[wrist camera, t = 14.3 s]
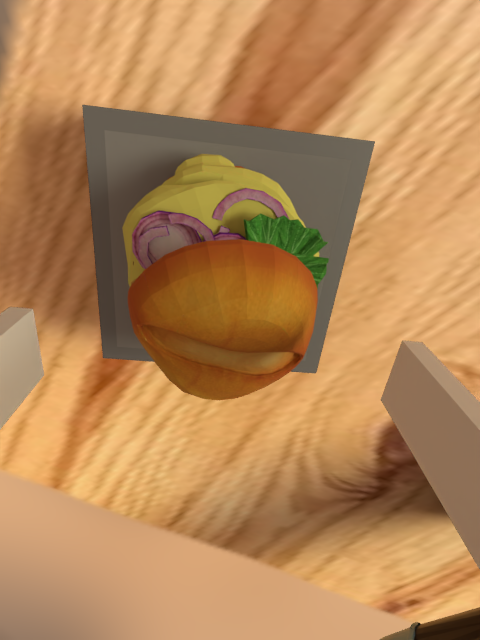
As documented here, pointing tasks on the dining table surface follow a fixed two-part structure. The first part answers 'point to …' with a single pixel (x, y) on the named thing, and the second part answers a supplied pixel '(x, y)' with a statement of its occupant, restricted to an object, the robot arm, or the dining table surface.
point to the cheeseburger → (222, 278)
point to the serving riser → (242, 150)
